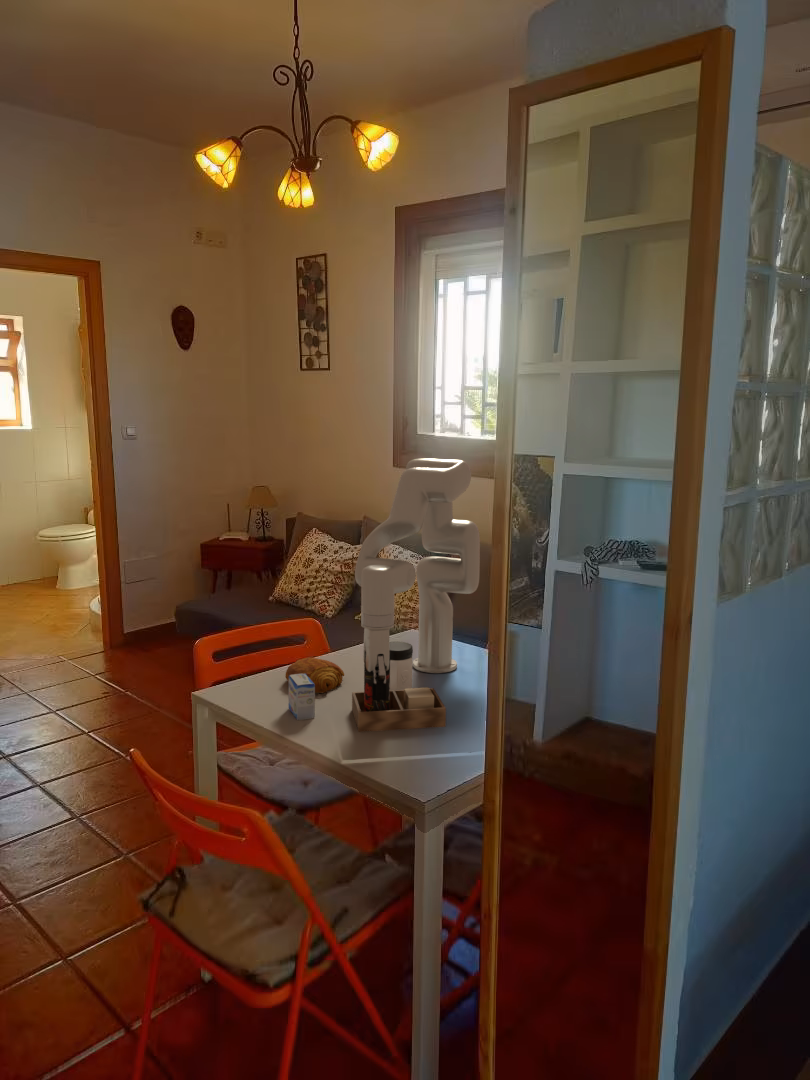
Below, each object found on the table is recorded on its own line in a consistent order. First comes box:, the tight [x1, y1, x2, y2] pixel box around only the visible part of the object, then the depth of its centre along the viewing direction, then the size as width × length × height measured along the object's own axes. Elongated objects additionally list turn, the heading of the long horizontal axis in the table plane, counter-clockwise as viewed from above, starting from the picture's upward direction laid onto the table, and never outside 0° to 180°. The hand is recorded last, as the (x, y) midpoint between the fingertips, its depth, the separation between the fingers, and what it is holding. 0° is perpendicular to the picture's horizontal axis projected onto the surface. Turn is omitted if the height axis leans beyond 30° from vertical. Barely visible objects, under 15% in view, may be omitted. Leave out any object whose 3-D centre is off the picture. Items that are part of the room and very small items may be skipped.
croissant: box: [284, 656, 345, 694], centre depth 208 cm, size 14×16×8 cm
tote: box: [351, 687, 447, 733], centre depth 185 cm, size 20×13×5 cm, turn 100°
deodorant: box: [363, 649, 390, 712], centre depth 183 cm, size 6×6×15 cm
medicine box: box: [288, 674, 316, 721], centre depth 188 cm, size 8×4×9 cm, turn 23°
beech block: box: [404, 686, 434, 710], centre depth 186 cm, size 6×6×6 cm
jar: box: [389, 641, 414, 690], centre depth 204 cm, size 9×8×12 cm
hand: (377, 693), depth 183 cm, fingers closed on deodorant, 5 cm apart
